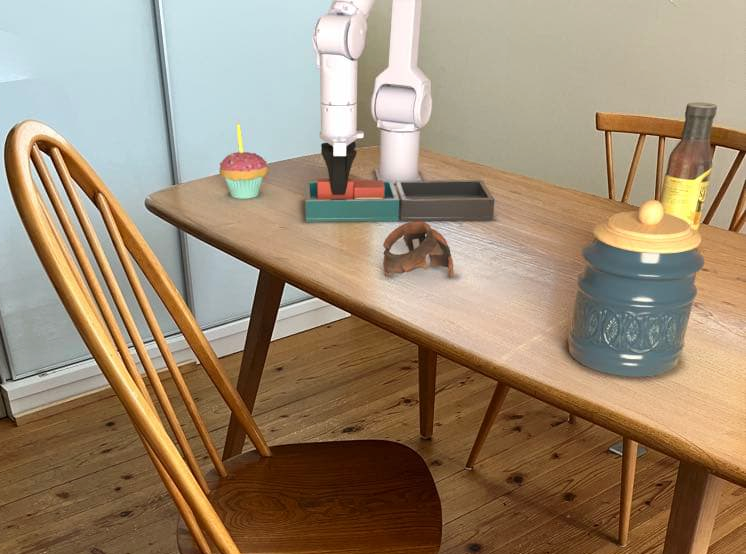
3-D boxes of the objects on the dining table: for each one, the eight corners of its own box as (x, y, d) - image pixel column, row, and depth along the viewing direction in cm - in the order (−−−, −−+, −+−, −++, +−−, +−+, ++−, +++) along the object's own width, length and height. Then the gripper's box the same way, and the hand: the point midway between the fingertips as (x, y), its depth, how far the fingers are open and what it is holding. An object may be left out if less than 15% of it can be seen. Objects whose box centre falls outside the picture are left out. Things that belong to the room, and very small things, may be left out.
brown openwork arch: (464, 288, 124) (444, 241, 118) (401, 316, 127) (378, 272, 121) (449, 238, 132) (428, 193, 126) (389, 266, 134) (367, 222, 128)
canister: (596, 324, 113) (623, 177, 103) (697, 352, 107) (736, 198, 96) (545, 358, 105) (569, 202, 95) (651, 390, 98) (688, 226, 88)
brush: (317, 197, 152) (317, 176, 150) (382, 197, 152) (383, 176, 150) (317, 205, 148) (317, 183, 146) (384, 205, 149) (384, 183, 147)
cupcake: (214, 191, 161) (209, 118, 153) (259, 186, 163) (256, 114, 156) (230, 204, 154) (225, 129, 147) (277, 198, 157) (274, 124, 150)
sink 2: (394, 201, 156) (395, 180, 154) (480, 200, 157) (482, 179, 155) (400, 221, 147) (401, 199, 145) (492, 220, 148) (494, 199, 146)
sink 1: (305, 201, 156) (304, 181, 154) (392, 201, 156) (392, 180, 154) (305, 222, 147) (305, 200, 145) (398, 221, 147) (399, 199, 145)
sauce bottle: (695, 255, 134) (730, 110, 122) (652, 252, 135) (682, 108, 123) (690, 242, 139) (723, 101, 127) (649, 239, 140) (677, 99, 128)
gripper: (366, 111, 136) (364, 204, 144) (362, 93, 147) (360, 180, 155) (319, 111, 136) (320, 204, 144) (319, 93, 147) (319, 180, 155)
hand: (338, 192), depth 150 cm, fingers closed on brush, 2 cm apart
